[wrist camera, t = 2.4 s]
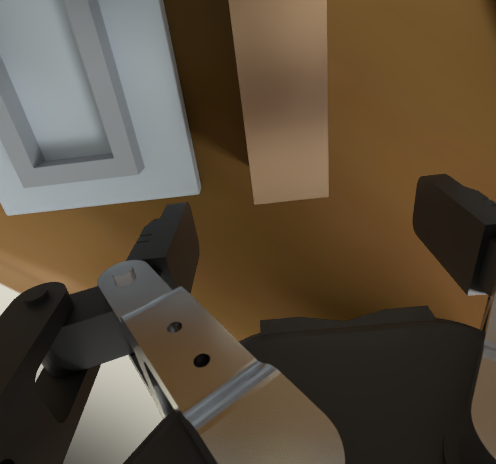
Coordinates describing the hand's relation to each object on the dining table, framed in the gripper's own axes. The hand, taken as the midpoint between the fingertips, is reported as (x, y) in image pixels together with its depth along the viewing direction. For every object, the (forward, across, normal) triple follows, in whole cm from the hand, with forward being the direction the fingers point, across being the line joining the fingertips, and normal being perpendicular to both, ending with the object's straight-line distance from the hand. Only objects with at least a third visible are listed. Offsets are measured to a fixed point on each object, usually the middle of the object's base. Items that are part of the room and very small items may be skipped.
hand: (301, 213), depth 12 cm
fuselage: (+12, 0, -4) cm, 12 cm away
